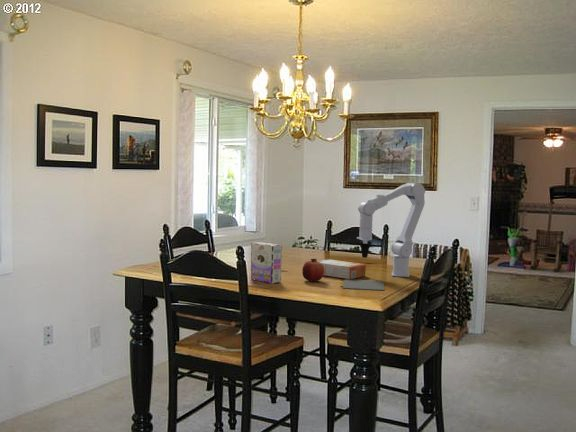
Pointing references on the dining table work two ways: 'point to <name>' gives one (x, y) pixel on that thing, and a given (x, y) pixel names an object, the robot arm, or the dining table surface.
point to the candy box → (266, 262)
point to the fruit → (313, 270)
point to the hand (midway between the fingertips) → (364, 257)
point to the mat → (363, 285)
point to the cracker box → (343, 269)
